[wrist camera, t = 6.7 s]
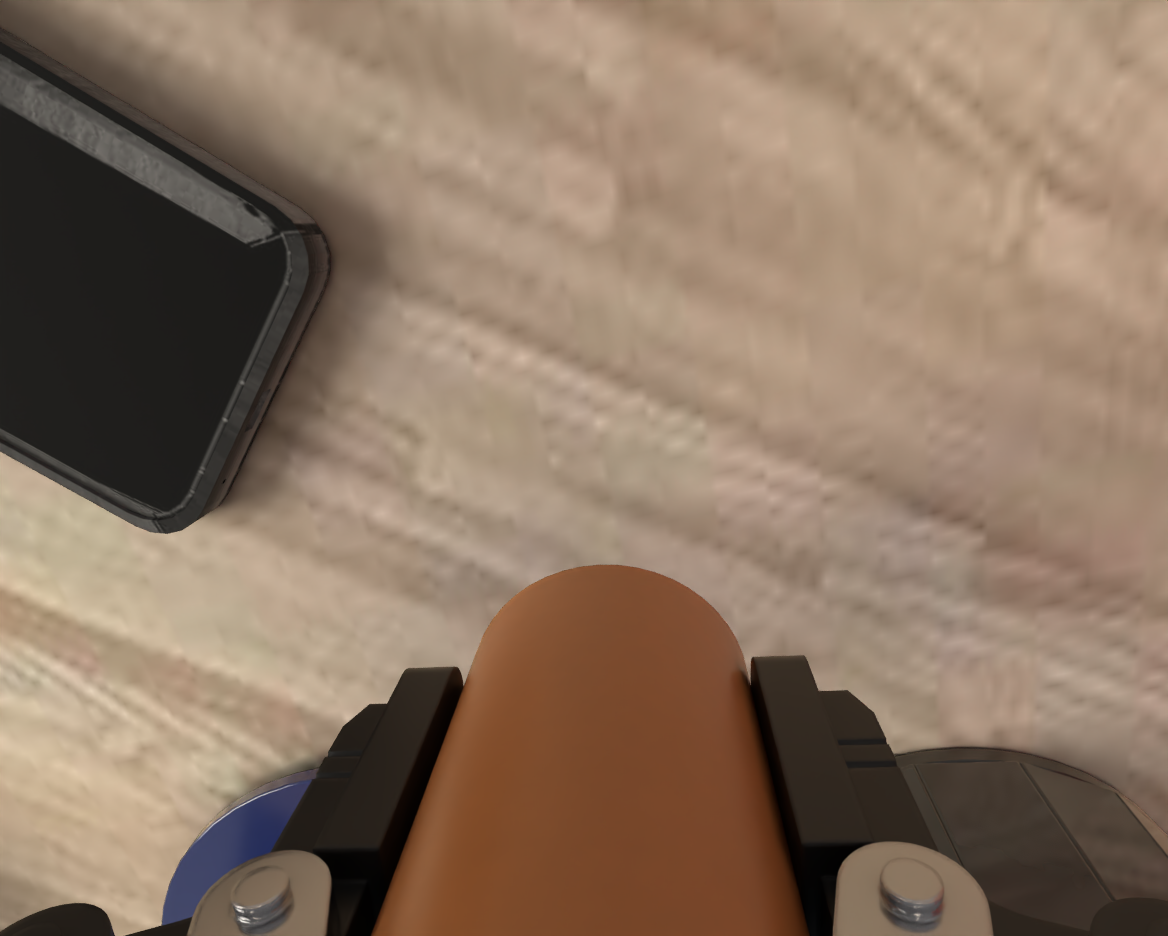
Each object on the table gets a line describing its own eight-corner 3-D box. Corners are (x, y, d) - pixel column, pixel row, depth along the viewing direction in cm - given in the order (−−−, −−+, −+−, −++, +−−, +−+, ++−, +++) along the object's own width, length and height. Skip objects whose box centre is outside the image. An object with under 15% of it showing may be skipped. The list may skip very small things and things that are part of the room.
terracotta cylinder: (489, 804, 13) (358, 1320, 7) (458, 569, 12) (263, 947, 6) (750, 800, 13) (851, 1339, 7) (745, 555, 11) (866, 944, 5)
